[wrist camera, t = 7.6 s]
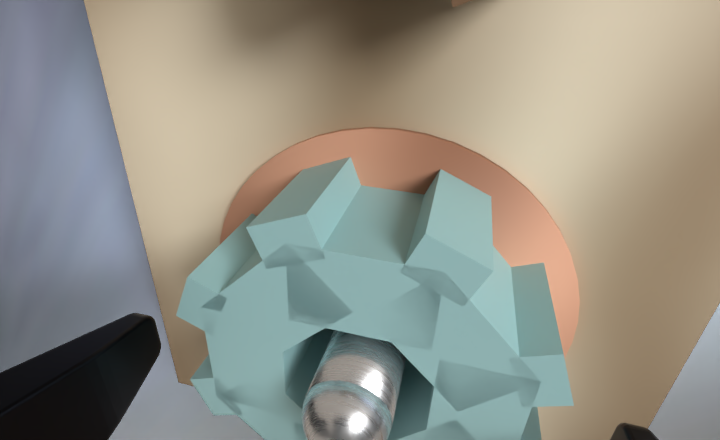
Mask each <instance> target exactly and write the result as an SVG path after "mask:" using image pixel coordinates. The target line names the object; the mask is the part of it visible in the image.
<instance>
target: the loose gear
mask: <svg viewBox="0 0 720 440" xmlns="http://www.w3.org/2000/svg"><path fill="white" fill-rule="evenodd" d="M176 316H178V317H179V318H181V319H183V320H185V321H187V322H189V323H190V324H192V325H194V326H196V327H198V328H200V329H202V330H203V331H205V334H206V340H207V346H208V351H209V354H208V356H207V357H206V359H205V360H204V361H203V363H202V364H201V365H200V367H199V368H198V369H197V371H196V372H195V373H194V375H193V376H192V377H191V379H190V380H191V382H192V384H193V385H194V387H195V388H196V390H197V391H198V393H199V394H200V396H201V397H202V399H203V400H204V402H205V403H206V405H207V406H208V408H209V409H210V411H211V412H212V414H213V415H237V416H239V417H240V418H241V419H242V420H243V421H244V422H245V423H246V424H248V425H249V426H250V427H251V428H252V429H253V430H254V431H255V432H257V433H258V434H259V435H260V436H261V437H262V438H263V439H264V440H307V438H306V436H305V433H304V430H303V424H302V408H303V403H304V399H305V396H306V394H307V391H308V389H309V387H310V384H311V382H312V380H313V377H314V375H315V373H316V371H317V368H318V366H319V364H320V361H321V359H322V357H323V354H324V352H325V350H326V347H327V345H328V343H329V341H330V338H331V336H332V334H333V331H334V330H337V331H342V332H346V333H351V334H355V335H360V336H365V337H369V338H374V339H378V340H383V341H388V342H392V343H393V344H394V345H395V346H396V348H397V349H398V350H399V351H400V352H401V353H402V354H403V355H404V356H405V357H406V361H405V366H404V371H403V376H402V381H401V385H400V390H399V395H398V400H397V405H396V409H395V414H394V419H393V424H392V428H391V431H390V434H389V437H388V439H387V440H542V439H541V431H540V423H539V415H538V407H547V406H574V403H573V398H572V393H571V388H570V383H569V379H568V374H567V369H566V364H565V359H564V354H563V349H562V344H561V340H560V335H559V331H558V326H557V321H556V317H555V312H554V307H553V303H552V298H551V293H550V289H549V284H548V279H547V275H546V270H545V265H544V263H536V264H529V265H522V266H515V267H510V265H509V264H508V263H507V262H506V261H505V259H504V258H503V257H502V256H501V254H500V253H499V252H498V251H497V250H496V248H495V247H494V246H493V234H492V204H491V196H489V195H487V194H486V193H484V192H482V191H480V190H478V189H477V188H475V187H473V186H471V185H469V184H467V183H466V182H464V181H462V180H460V179H458V178H456V177H455V176H453V175H451V174H449V173H447V172H445V171H444V170H442V169H440V171H439V172H438V174H437V175H436V177H435V179H434V180H433V182H432V183H431V185H430V186H429V188H428V190H427V191H426V193H425V194H417V193H410V192H403V191H397V190H390V189H383V188H376V187H369V186H363V185H361V184H360V181H359V178H358V176H357V173H356V170H355V168H354V165H353V162H352V159H351V157H348V158H344V159H340V160H337V161H333V162H329V163H325V164H322V165H318V166H314V167H310V168H307V169H303V170H302V171H301V172H300V173H299V174H298V175H297V176H296V177H295V178H294V179H293V180H292V181H291V182H290V183H289V184H288V185H287V186H286V187H285V188H284V189H283V190H282V191H281V192H280V193H279V194H278V195H277V196H276V197H275V198H274V199H273V200H272V201H271V202H270V203H269V204H268V206H267V207H266V208H265V209H264V210H263V211H262V212H261V213H260V214H259V215H258V216H256V215H254V214H251V215H250V216H249V217H248V218H247V219H246V220H245V221H244V222H243V223H242V224H241V225H240V226H239V227H238V228H237V229H235V230H234V231H233V232H232V233H231V234H230V235H229V236H228V237H227V238H226V239H225V240H224V241H223V242H222V243H221V244H220V245H219V246H218V247H217V248H216V249H215V250H214V251H213V252H212V253H211V254H210V255H209V256H208V257H207V258H206V259H205V260H204V261H203V262H202V263H201V264H200V265H199V266H198V267H197V268H196V269H195V270H194V271H193V272H192V273H191V274H190V275H189V276H188V277H187V280H186V283H185V287H184V290H183V293H182V297H181V300H180V304H179V307H178V310H177V314H176Z"/></svg>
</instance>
